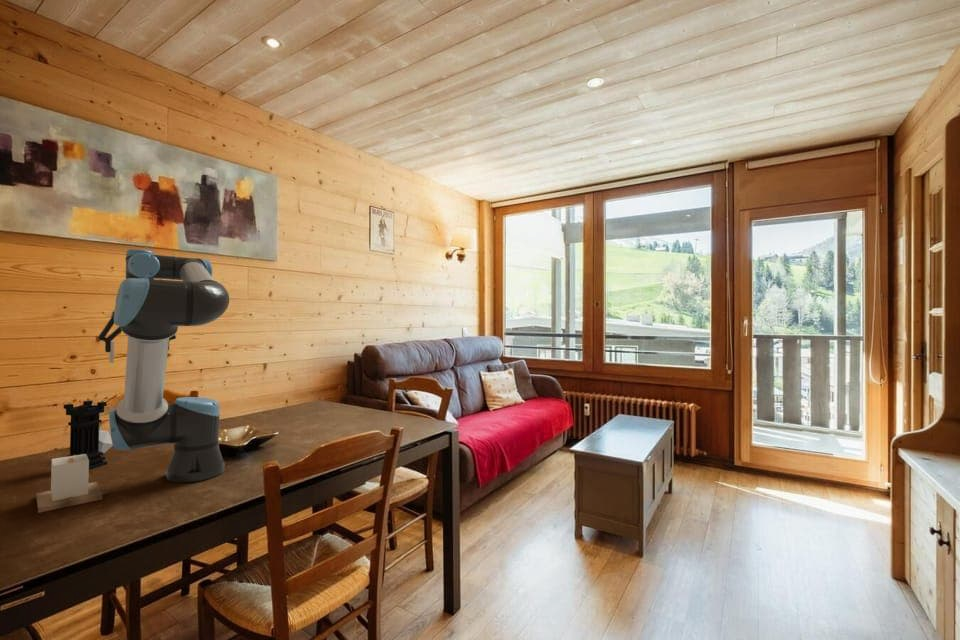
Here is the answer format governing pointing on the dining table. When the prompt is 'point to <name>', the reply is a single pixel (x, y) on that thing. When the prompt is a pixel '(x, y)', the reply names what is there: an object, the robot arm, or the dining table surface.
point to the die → (104, 441)
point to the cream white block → (69, 476)
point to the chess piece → (86, 431)
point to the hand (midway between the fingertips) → (138, 361)
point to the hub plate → (67, 499)
